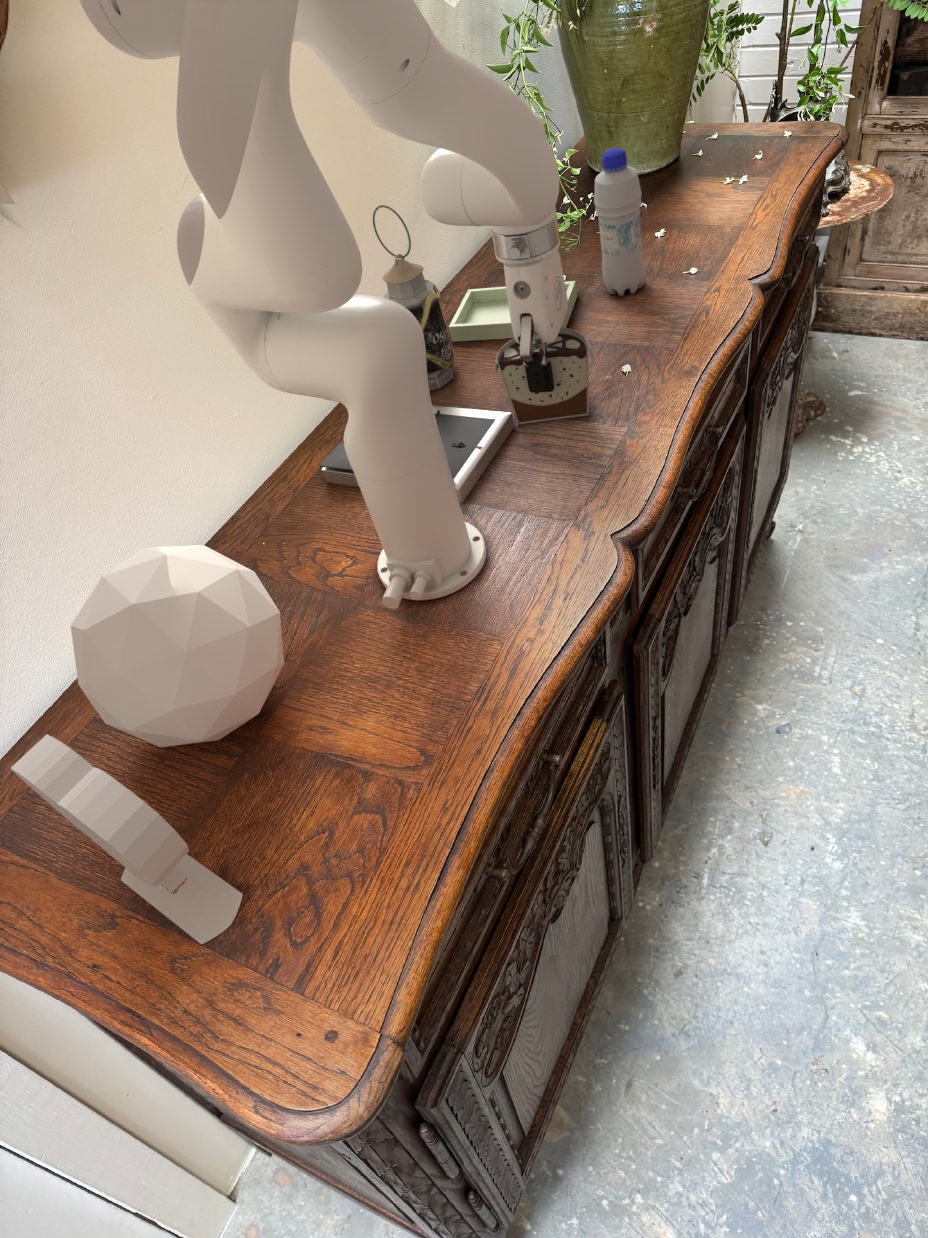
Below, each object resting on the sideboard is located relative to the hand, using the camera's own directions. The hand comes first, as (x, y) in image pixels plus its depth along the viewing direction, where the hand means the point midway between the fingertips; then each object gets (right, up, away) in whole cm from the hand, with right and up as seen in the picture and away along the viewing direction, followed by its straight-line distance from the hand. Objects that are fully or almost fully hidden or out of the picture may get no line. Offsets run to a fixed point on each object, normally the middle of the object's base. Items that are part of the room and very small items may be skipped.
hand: (547, 373), depth 108 cm
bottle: (+14, +19, +21) cm, 32 cm away
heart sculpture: (-36, -55, -34) cm, 74 cm away
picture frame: (-17, -10, +3) cm, 20 cm away
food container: (+1, -3, +4) cm, 5 cm away
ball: (-36, -41, -20) cm, 58 cm away
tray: (-3, +15, +22) cm, 27 cm away
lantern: (-15, +4, +15) cm, 22 cm away
